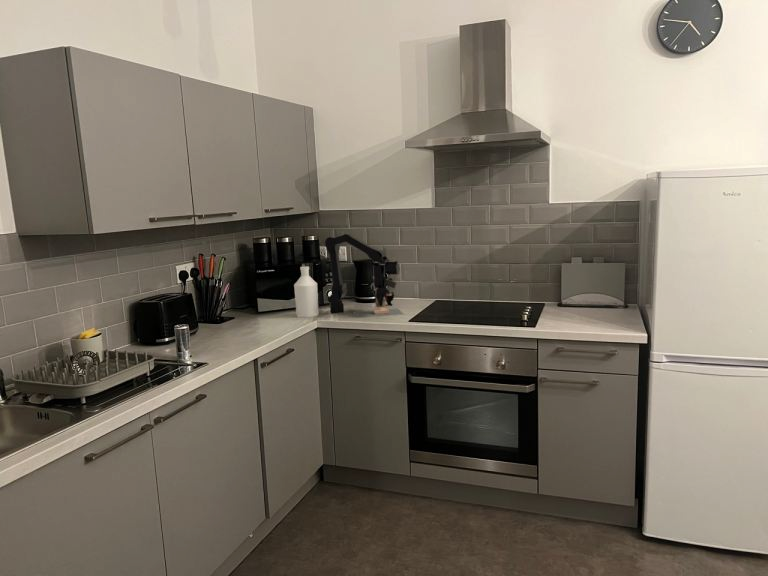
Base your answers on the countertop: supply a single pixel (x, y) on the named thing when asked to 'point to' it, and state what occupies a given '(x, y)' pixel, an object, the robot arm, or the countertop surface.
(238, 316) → the countertop surface
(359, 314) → the mat
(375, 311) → the tile
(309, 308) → the bottle
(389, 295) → the figurine
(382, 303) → the cube
